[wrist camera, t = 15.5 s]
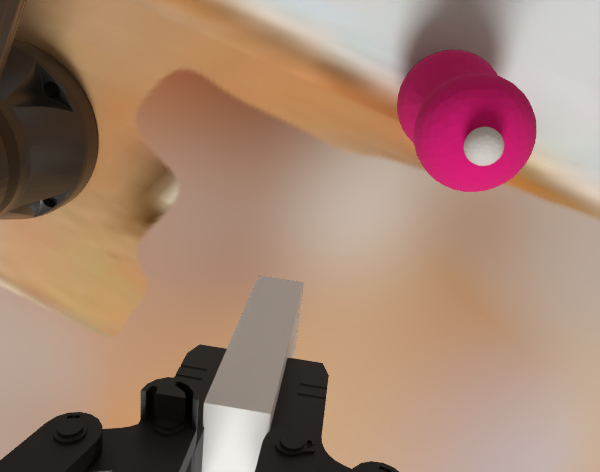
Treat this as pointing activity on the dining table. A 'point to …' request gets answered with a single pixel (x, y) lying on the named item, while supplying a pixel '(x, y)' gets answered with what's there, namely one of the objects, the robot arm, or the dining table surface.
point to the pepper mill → (466, 121)
